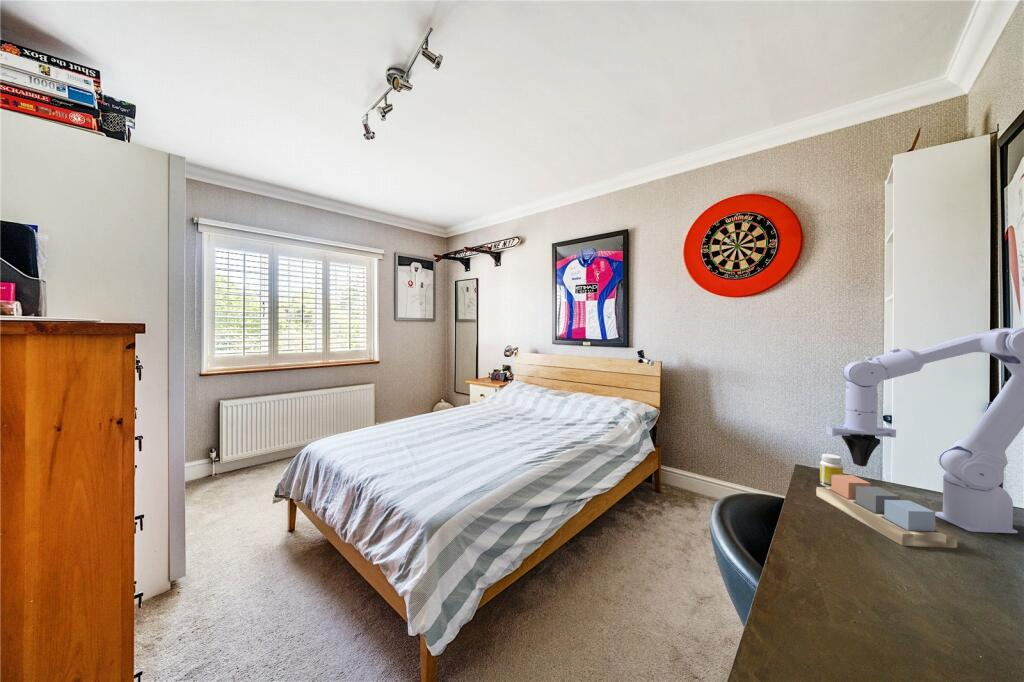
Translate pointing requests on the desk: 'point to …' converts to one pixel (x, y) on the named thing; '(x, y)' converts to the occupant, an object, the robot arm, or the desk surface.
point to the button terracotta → (847, 485)
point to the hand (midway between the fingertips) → (859, 465)
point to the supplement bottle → (829, 468)
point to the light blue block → (909, 515)
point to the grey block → (874, 498)
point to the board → (888, 523)
